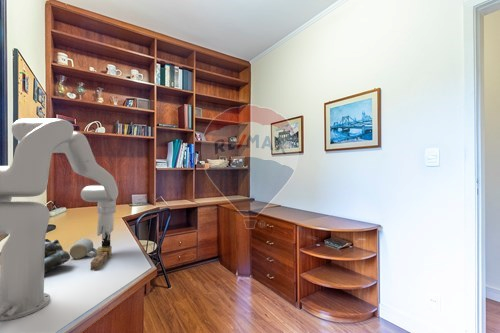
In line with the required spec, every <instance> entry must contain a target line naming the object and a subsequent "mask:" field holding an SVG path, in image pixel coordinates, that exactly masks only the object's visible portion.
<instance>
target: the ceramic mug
mask: <svg viewBox="0 0 500 333" xmlns="http://www.w3.org/2000/svg"><path fill="white" fill-rule="evenodd" d="M92 252H93V253H92ZM69 255H70V258H72V259H76V260H80V259H82V258H84V257H96V256H97V248H95V247H94V243H93V241H92V240H91V239H89V238H86V237H84V238H80V239H78V240H77V241H76V242H75V243H74V244H73V245H71V247H70V249H69Z"/></svg>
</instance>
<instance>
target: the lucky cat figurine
mask: <svg viewBox="0 0 500 333" xmlns="http://www.w3.org/2000/svg"><path fill="white" fill-rule="evenodd" d="M70 259H71V256H70V252H68V251H65V250H64V248H63V246H62V245H61V244H60V242H59V240H58V239H54V240H50V239H48V238H45V262H44V274H45V273H47V272H49V271H51V270H53V269H55V268H56V267H60V266H61V265H63V264H64V263H65V264H66V263H67V262H69V261H70Z"/></svg>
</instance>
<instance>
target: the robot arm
mask: <svg viewBox="0 0 500 333" xmlns="http://www.w3.org/2000/svg"><path fill="white" fill-rule="evenodd" d="M74 129H75V127H74V125H73V124H72V122H71V121H69V120H67V119H62V118H48V117H47V118H46V117H44V118H41V117H40V118H35V117H34V118H30V117H27V118H20V119H17V120H15V121H14V122H13V123H12V125H11V133H12V135H13V137H14V139H16V140H17V141H18V143H17V145H16V147H15V150H14V154H13V157H12V158H13V159H12V163H11V165H0V235H8V238H7V240H5V243H3V245H2V247H1V250H0V321H10V320H15V319H19V318H22V317H25V316H28V315H31V314H33V313H36V312H37V311H40V310H42V309H43V308H44V307H46V306H48V304H49V303H50V301H51V295H50V294H49V293H46V292H45V273H44V262H45V239H46V236H47V235H46V234H47V229H48V225H49V222H50V218H51V216H50V215H51V213H50V209H49V208H48V207H47V206H46V205H45V204H44V203H41V202H37V201H12V198H32V197H33V198H34V197H38V196H41V195H43V194H44V193H45V191H46V190H47V187H48V183H49V182H48V181H49V176H50V175H49V174H50V168H51V161H52V155H53V154H65V156H66V158H67V160H68V163H69V164H70V167H71V169H72V171H73V173H76V174H77V175H80V176H82V177H85V178H88V179H91V180H93V181H95V182H96V183H99V184H91V185H86V186H84V187H83V188H82V189H81V192H80V197H81V199H82V200H83V201H85V202H88V203H97V212H96V213H97V215H98V219H97V230H96V231H97V232H96V235H97V236H98V237H99V236H101V247H103V246H111V233H112V232H113V231H114V225H115V224H114V221H115V220H114V214H115V213H116V210H117V208H116V207H117V203H116V202H117V198H118V195H119V188H118V185H117V182H116V180H115V178H114V176H113V175H112V174H111V173H110V172H109V171H108V170H106V169H105V168H103V166H101V165H99V164H98V163H97V160H96V158H95V155H94V154H93V151H92V148H91V146H90V143H89V140H88V139H87V137H86V135H84V134H83V132H80V131H74Z"/></svg>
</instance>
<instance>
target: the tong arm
mask: <svg viewBox="0 0 500 333" xmlns="http://www.w3.org/2000/svg"><path fill="white" fill-rule="evenodd" d="M107 259H109V251H104V253H103V254H102V255H101V256H100V257H99V258H98V260H97V261H96V262H95V270H94V271H99V270H100V268H102V266H103V264H105V262H106V261H107Z"/></svg>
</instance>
